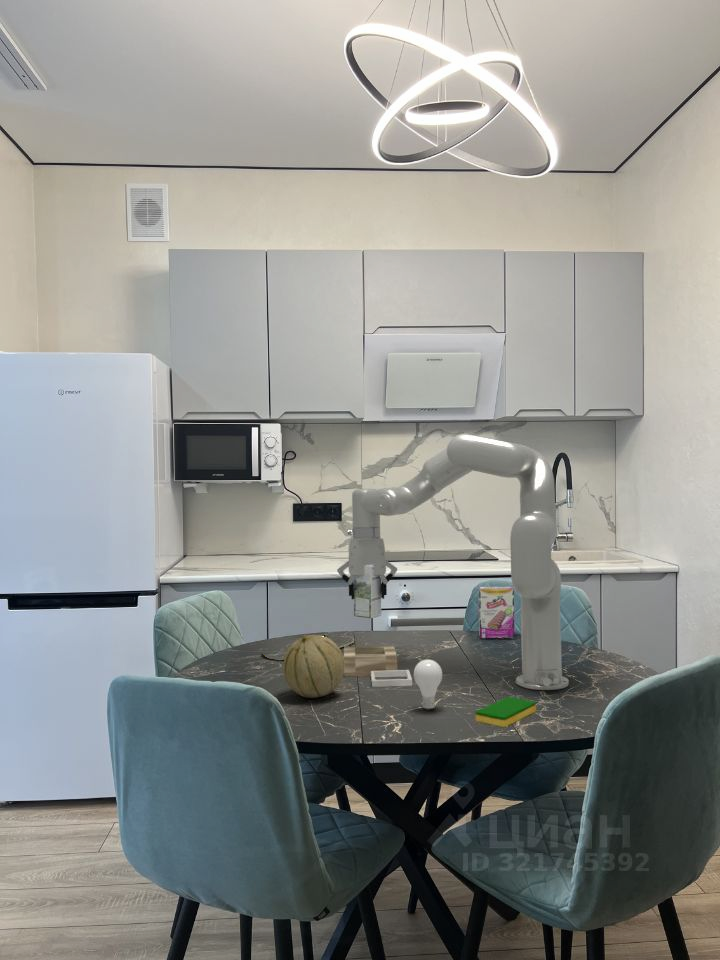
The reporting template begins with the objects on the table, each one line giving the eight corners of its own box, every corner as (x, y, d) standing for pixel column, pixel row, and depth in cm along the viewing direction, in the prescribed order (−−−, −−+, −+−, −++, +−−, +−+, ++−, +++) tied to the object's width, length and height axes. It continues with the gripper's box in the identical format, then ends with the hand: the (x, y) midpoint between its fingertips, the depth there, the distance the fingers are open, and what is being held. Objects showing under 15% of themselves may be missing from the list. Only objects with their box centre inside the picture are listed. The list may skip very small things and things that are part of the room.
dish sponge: (474, 722, 156) (474, 711, 156) (508, 707, 167) (507, 696, 167) (504, 729, 151) (504, 717, 151) (536, 712, 162) (536, 701, 162)
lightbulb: (415, 705, 168) (413, 656, 168) (443, 705, 168) (441, 656, 168) (414, 713, 162) (412, 663, 162) (443, 713, 161) (442, 663, 161)
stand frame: (412, 685, 185) (412, 679, 185) (372, 686, 185) (372, 680, 185) (409, 675, 195) (408, 669, 195) (370, 676, 195) (370, 670, 195)
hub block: (397, 674, 196) (396, 655, 196) (344, 676, 195) (343, 657, 196) (394, 662, 210) (393, 644, 210) (344, 663, 209) (344, 646, 210)
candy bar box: (479, 640, 237) (478, 588, 237) (479, 636, 242) (477, 586, 242) (515, 639, 236) (514, 588, 236) (513, 636, 241) (512, 586, 241)
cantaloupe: (355, 691, 181) (353, 629, 181) (328, 708, 168) (326, 641, 168) (302, 686, 187) (300, 626, 187) (271, 702, 174) (270, 637, 174)
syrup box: (381, 615, 204) (382, 562, 204) (370, 618, 199) (371, 564, 199) (364, 613, 207) (364, 561, 207) (352, 616, 202) (353, 563, 202)
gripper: (334, 535, 199) (335, 601, 199) (399, 534, 199) (400, 599, 199) (335, 533, 207) (336, 597, 206) (397, 532, 207) (398, 595, 207)
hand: (367, 597), depth 203 cm, fingers closed on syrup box, 7 cm apart
